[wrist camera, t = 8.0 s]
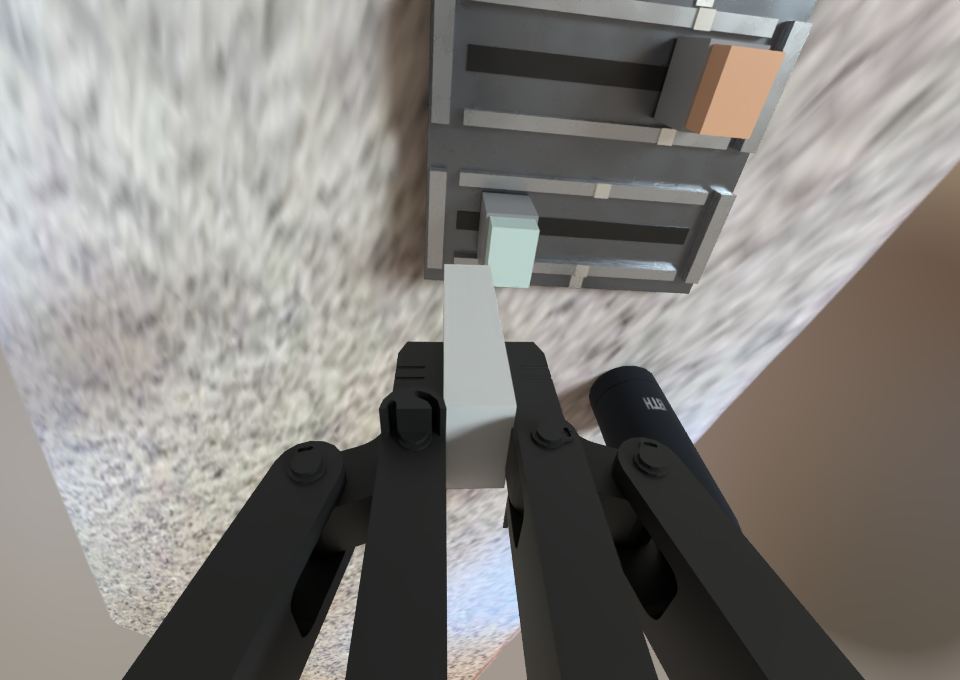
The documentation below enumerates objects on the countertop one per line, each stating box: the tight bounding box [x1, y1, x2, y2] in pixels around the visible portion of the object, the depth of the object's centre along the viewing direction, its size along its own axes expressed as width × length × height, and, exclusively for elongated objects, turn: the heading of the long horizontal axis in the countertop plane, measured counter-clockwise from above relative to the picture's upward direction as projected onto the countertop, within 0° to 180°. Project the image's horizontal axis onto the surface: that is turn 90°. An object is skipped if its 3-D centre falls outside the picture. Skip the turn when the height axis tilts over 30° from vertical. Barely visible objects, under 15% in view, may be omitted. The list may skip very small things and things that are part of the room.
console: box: [424, 0, 816, 294], centre depth 27 cm, size 18×20×3 cm
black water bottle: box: [589, 366, 742, 532], centre depth 30 cm, size 6×6×30 cm
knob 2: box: [654, 36, 786, 139], centre depth 22 cm, size 4×3×5 cm
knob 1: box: [477, 192, 540, 288], centre depth 27 cm, size 4×3×5 cm
